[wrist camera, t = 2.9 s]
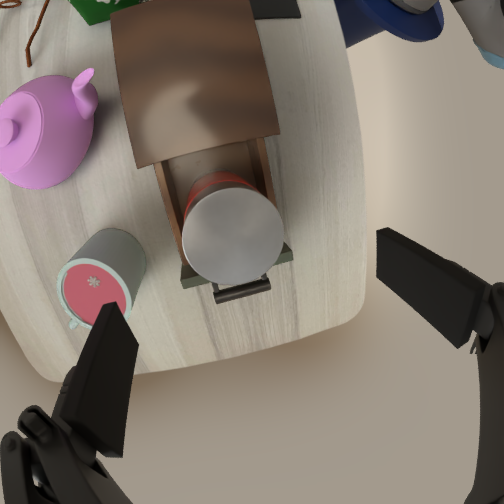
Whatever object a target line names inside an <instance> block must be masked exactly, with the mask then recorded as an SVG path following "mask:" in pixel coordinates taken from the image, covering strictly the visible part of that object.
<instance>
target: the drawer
mask: <svg viewBox="0 0 504 504" xmlns="http://www.w3.org/2000/svg"><path fill="white" fill-rule="evenodd" d="M154 168H155V172H156V176H157V180H158V184H159V187H160V191H161V194H162V198H163V202H164V205H165V209H166V212H167V215H168V219H169V222H170V225H171V229H172V232H173V235H174V238H175V242H176V245H177V248H178V251H179V254H180V257H181V260H182V269H181V279H180V281H181V284H182V286H183V289H187V288H191V287H194V286H198V285H202V284H206V283H210V282H211V283H212V286H213V289H214V292H213V295H214V299H215V302H216V304H219V303H223V302H227V301H231V300H235V299H238V298H242V297H246V296H250V295H253V294H257V293H260V292H264V291H268V290H271V284H270V281H269V278H268V277H267V275H266V273H265V274H263V275H262V276H261V278H262V279H259V280H255V281H252V282H248V283H245V284H241V285H237V286H233V287H229V288H226V289H222V290H219V288H218V284H217V283H214V282H212V281H209V280H207V279H205V278H204V277H202V276H201V275H199V274H198V273H197V272H196V271H195V270H194V269H193V268H192V266H191V265H190V264H189V262H188V260H187V258H186V256H185V254H184V250H183V246H182V232H183V226H184V216H185V210H186V205H187V200H188V195H189V193H190V189H191V186H192V184H193V183H194V181H195V180H196V179H197V178H198V177H199V176H200V175H201V174H203V173H204V172H207V171H209V170H212V169H225V170H229V171H231V172H233V173H235V174H236V175H238V176H240V177H241V178H243V179H244V180H245V181H246V182H248V183H249V184H250V185H252V186H253V187H254V188H256V189H257V190H258V191H259V192H260V193H261V194H262V195H263V196H265V197H266V198H267V199H268V200H269V201H270V202H271V203H272V204H273V205H274V206H275V207H276V209H277V205H276V199H275V194H274V188H273V183H272V178H271V172H270V167H269V162H268V157H267V152H266V147H265V142H264V137H262V138H256V139H251V140H246V141H241V142H236V143H232V144H227V145H223V146H218V147H214V148H210V149H206V150H202V151H198V152H194V153H190V154H186V155H183V156H179V157H175V158H172V159H168V160H165V161H162V162H158V163H155V164H154ZM292 260H293V254H292V250H291V249H290V248H289V247H288V245H287V244H286V243H285V242H283V247H282V250H281V253H280V255H279V257H278V259H277V260H276V262H275V263H274V265H277V264H281V263H285V262H288V261H292ZM274 265H273V266H274Z"/></svg>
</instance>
